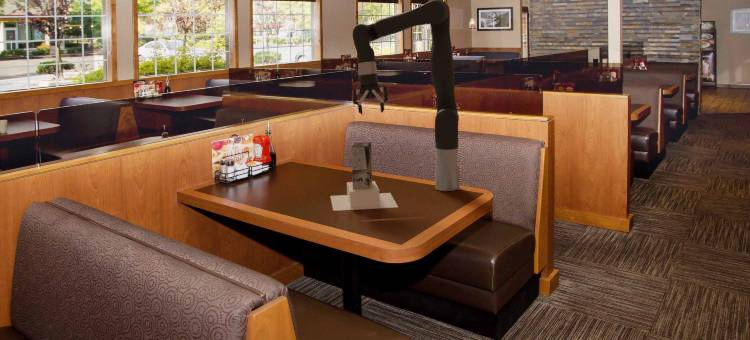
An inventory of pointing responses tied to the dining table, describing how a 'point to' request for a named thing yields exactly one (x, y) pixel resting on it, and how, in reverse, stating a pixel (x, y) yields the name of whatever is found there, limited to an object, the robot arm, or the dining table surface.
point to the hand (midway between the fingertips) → (371, 113)
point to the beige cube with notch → (363, 195)
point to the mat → (343, 204)
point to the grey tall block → (361, 166)
